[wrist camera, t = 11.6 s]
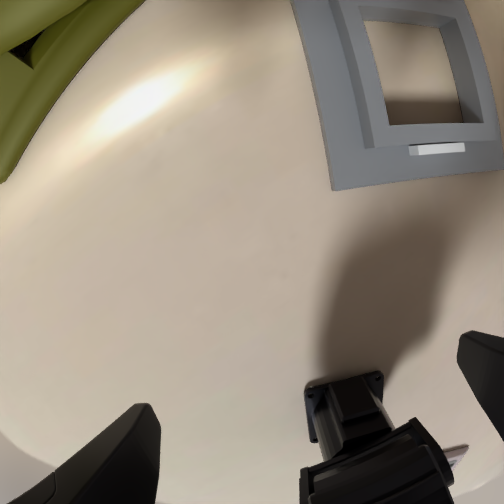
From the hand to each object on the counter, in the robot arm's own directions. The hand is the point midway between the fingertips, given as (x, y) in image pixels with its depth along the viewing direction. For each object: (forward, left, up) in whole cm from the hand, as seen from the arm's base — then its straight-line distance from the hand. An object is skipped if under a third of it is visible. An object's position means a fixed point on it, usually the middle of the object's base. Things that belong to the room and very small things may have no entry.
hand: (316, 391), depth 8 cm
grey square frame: (+11, -12, -13) cm, 21 cm away
